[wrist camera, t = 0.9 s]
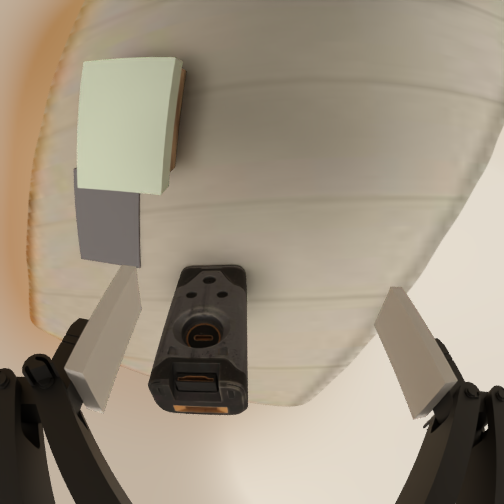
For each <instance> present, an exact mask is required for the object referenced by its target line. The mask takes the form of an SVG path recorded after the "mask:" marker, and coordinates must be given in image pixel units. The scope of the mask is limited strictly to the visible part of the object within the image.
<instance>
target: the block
mask: <svg viewBox="0 0 504 504" xmlns="http://www.w3.org/2000/svg"><path fill="white" fill-rule="evenodd" d="M182 64H183V62H182V61H181V60H179V59H177V58H176V57H138V58H118V59H105V60H95V61H86V62H84V63H83V70H82V78H81V86H80V97H79V109H78V127H77V185H78V188H86V189H99V190H112V191H123V192H134V193H145V194H155V195H162V193H163V192H164V191H165V190H166V189H167V187H168V186H169V176H170V163H171V151H172V141H173V131H174V122H175V114H176V106H177V98H178V91H179V84H180V77H181V71H182Z"/></svg>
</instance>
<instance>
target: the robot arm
mask: <svg viewBox="0 0 504 504" xmlns="http://www.w3.org/2000/svg"><path fill="white" fill-rule="evenodd" d="M141 310H142V307H141V300H140V293H139V286H138V278H137V269H136V266H128V265H122V266H121V267H120V269H119V271H118V272H117V274H116V275H115V277H114V279H113V280H112V282H111V283H110V285H109V287H108V288H107V290H106V292H105V293H104V295H103V297H102V298H101V300H100V302H99V304H98V305H97V307H96V309H95V311H94V312H93V314H92V316H91V318H90V319H89V320H87V319H82V318H79V319H78V320H77V321H75V322H74V323H73V324H72V325H71V326H70V328H69V329H68V331H67V333H66V335H65V336H64V338H63V340H62V342H61V344H60V345H59V347H58V349H57V351H56V353H55V355H54V356H53V358H52V360H51V359H50V357H48V356H47V355H45V354H34V355H32V356H30V357H29V358H28V359H27V360H26V361H25V362H24V365H23V367H22V373H23V374H24V376H25V377H16V376H15V374H14V373H13V371H12V370H10V369H6V368H3V369H0V504H55V500H54V496H53V492H52V487H51V482H50V477H49V471H48V465H47V459H46V451H45V444H44V434H43V428H44V431H45V434H46V437H47V440H48V443H49V445H50V448H51V450H52V453H53V456H54V458H55V460H56V463H57V465H58V468H59V470H60V472H61V475H62V477H63V478H64V481H65V483H66V485H67V487H68V489H69V491H70V493H71V495H72V497H73V499H74V501H75V503H76V504H132V502H131V501H130V500H129V498H128V497H127V495H126V493H125V492H124V490H123V489H122V487H121V486H120V484H119V483H118V481H117V479H116V478H115V476H114V474H113V472H112V471H111V469H110V467H109V466H108V464H107V462H106V460H105V458H104V457H103V455H102V453H101V452H100V449H99V447H98V445H97V443H96V441H95V439H94V437H93V435H92V433H91V431H90V429H89V427H88V425H87V423H86V420H85V418H84V416H83V414H82V412H81V410H80V408H81V405H82V403H84V404H85V406H86V408H87V409H89V410H93V411H96V412H100V413H104V411H105V408H106V405H107V401H108V398H109V395H110V392H111V389H112V386H113V384H114V381H115V378H116V375H117V372H118V370H119V367H120V364H121V361H122V359H123V356H124V353H125V351H126V348H127V345H128V343H129V340H130V338H131V335H132V333H133V330H134V327H135V325H136V322H137V320H138V318H139V315H140V313H141ZM374 326H375V328H376V330H377V332H378V334H379V337H380V339H381V341H382V344H383V346H384V348H385V350H386V353H387V355H388V357H389V360H390V362H391V364H392V367H393V369H394V371H395V374H396V376H397V379H398V381H399V384H400V386H401V389H402V391H403V394H404V396H405V399H406V401H407V404H408V407H409V409H410V412H411V415H412V417H413V419H418V418H422V417H426V416H427V415H428V414H429V413H430V412H431V411H432V410H433V411H434V414H435V415H434V416H433V417H432V418H431V419H430V420H429V421H428V422H427V423H426V424H425V425H424V426H423V428H425V427H426V426H427V425H428V424H429V427H428V429H427V432H426V435H425V438H424V441H423V443H422V446H421V449H420V451H419V454H418V456H417V459H416V461H415V463H414V466H413V468H412V470H411V472H410V475H409V477H408V479H407V481H406V483H405V485H404V487H403V489H402V491H401V493H400V495H399V497H398V499H397V501H396V503H395V504H504V388H503V387H501V386H494V387H493V388H492V389H491V390H490V391H489V392H482V391H479V389H478V388H477V386H476V385H474V384H473V383H470V382H465V381H464V379H463V377H462V375H461V373H460V372H459V370H458V368H457V366H456V364H455V363H454V361H452V357H451V356H450V355H449V352H448V350H447V349H446V347H445V345H444V344H443V343H442V342H441V341H440V340H439V339H437V338H436V339H434V337H433V335H432V334H431V332H430V330H429V329H428V327H427V325H426V324H425V322H424V320H423V319H422V317H421V316H420V314H419V313H418V311H417V309H416V308H415V306H414V305H413V303H412V302H411V300H410V299H409V297H408V296H407V294H406V292H405V291H404V289H403V288H402V287H390V290H389V292H388V295H387V297H386V299H385V302H384V304H383V306H382V308H381V311H380V313H379V315H378V317H377V320H376V322H375V324H374ZM487 424H488V429H487V430H486V431H485V429H484V427H485V426H486V425H487Z"/></svg>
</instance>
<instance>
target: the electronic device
mask: <svg viewBox="0 0 504 504" xmlns="http://www.w3.org/2000/svg"><path fill="white" fill-rule="evenodd" d="M148 387H149V390H150V391H151V394H152V395H153V397H154V400H155V402H156V403H157V404H158V405H159V407H161V408H162V409H163V410H165V411H168V412H173V413H186V414H208V415H236V414H239V413H241V412H243V411H244V410H246V409H247V407H248V371H247V285H246V273H245V271H244V270H243V269H242V268H241V267H238V266H205V267H188V268H185V269H184V270H183V271H182V272H181V275H180V278H179V281H178V284H177V287H176V291H175V294H174V297H173V300H172V303H171V306H170V310H169V313H168V316H167V319H166V323H165V326H164V329H163V333H162V336H161V340H160V343H159V347H158V350H157V354H156V357H155V361H154V364H153V368H152V372H151V375H150V379H149V383H148Z"/></svg>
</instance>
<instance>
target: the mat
mask: <svg viewBox="0 0 504 504" xmlns="http://www.w3.org/2000/svg"><path fill="white" fill-rule="evenodd" d="M74 191H75V207H76V219H77V229H78V237H79V246H80V253H81V259H86V260H92V261H98V262H104V263H110V264H117V265H128V266H136V268H140V267H141V264H140V227H139V205H140V193H134V192H123V191H112V190H99V189H86V188H78V185H77V168H75V169H74Z"/></svg>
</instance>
